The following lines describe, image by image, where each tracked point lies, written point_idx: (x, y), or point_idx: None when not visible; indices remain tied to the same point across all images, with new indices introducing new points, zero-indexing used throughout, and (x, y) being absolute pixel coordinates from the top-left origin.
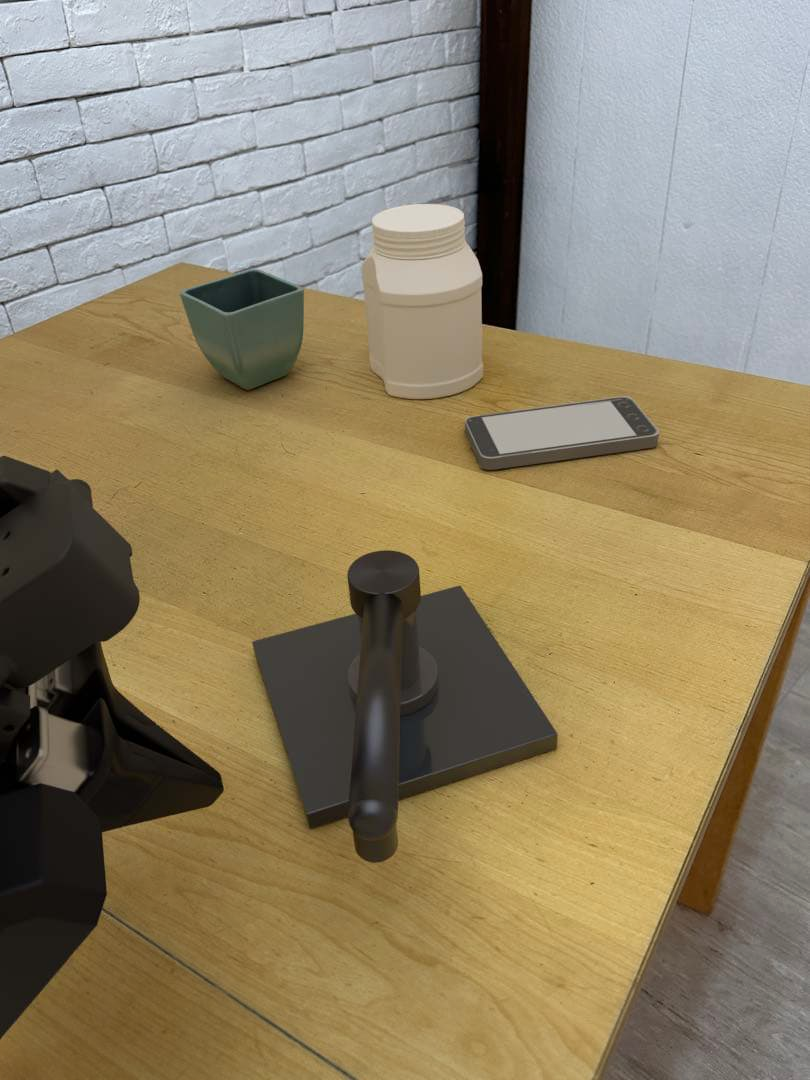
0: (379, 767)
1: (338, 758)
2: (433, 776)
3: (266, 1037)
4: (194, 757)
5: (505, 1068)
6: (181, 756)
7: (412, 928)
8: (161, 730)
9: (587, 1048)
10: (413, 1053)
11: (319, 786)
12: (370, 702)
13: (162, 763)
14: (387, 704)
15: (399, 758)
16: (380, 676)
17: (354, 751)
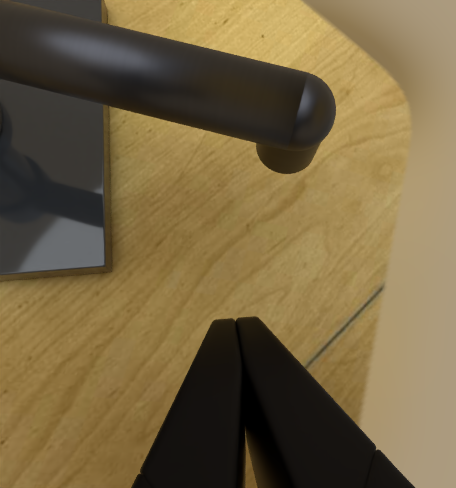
0: (242, 64)
1: (35, 214)
2: (104, 121)
3: (339, 353)
4: (208, 366)
5: (405, 155)
6: (234, 397)
7: (263, 194)
8: (165, 456)
9: (401, 92)
10: (380, 222)
11: (69, 244)
12: (91, 47)
13: (335, 456)
14: (104, 26)
15: (66, 147)
16: (35, 19)
17: (178, 103)
